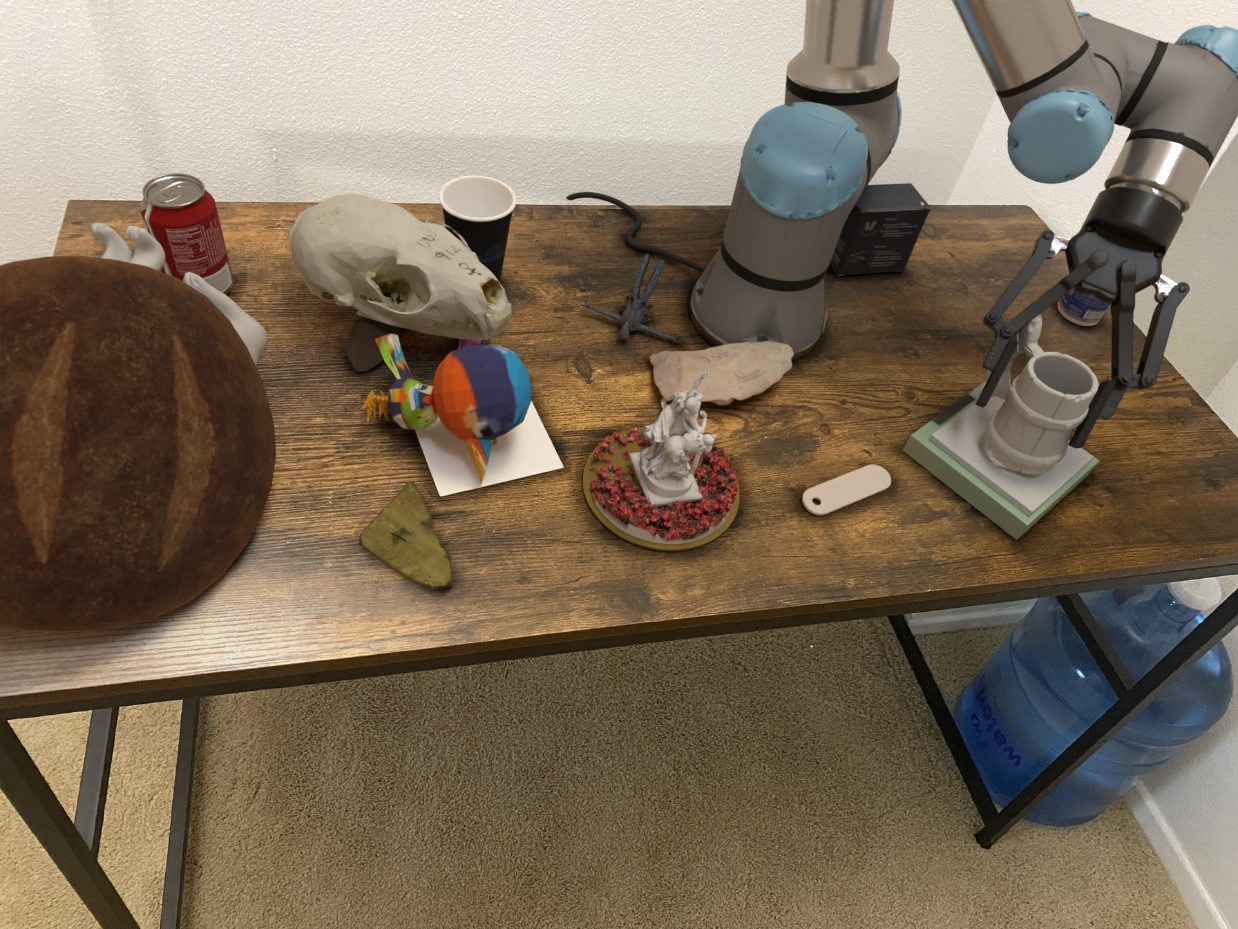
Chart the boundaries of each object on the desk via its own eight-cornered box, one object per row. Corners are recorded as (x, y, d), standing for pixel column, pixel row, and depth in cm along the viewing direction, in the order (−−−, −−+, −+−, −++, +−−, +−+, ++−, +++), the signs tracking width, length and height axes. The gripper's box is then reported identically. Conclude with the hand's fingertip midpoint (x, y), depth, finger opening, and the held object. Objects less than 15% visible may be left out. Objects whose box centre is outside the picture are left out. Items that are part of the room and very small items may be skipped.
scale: (901, 449, 95) (912, 428, 93) (976, 395, 102) (988, 374, 100) (1016, 540, 89) (1031, 520, 87) (1087, 475, 96) (1103, 455, 94)
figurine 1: (432, 277, 96) (394, 361, 89) (429, 306, 100) (393, 389, 93) (371, 259, 96) (329, 342, 89) (371, 289, 100) (330, 371, 93)
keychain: (794, 496, 89) (812, 521, 88) (796, 493, 88) (814, 518, 87) (876, 464, 93) (894, 487, 92) (879, 460, 93) (897, 483, 91)
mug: (1008, 483, 88) (1063, 391, 79) (945, 398, 95) (989, 305, 86) (1075, 470, 90) (1136, 379, 81) (1008, 388, 97) (1058, 296, 88)
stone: (459, 590, 78) (460, 580, 76) (382, 613, 75) (381, 602, 74) (418, 486, 84) (418, 475, 83) (346, 503, 82) (344, 492, 81)
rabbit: (120, 193, 68) (-95, 491, 60) (306, 351, 84) (156, 601, 76) (40, 189, 74) (-165, 459, 66) (228, 337, 90) (82, 568, 82)
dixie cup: (496, 312, 101) (498, 227, 92) (428, 291, 101) (425, 205, 93) (522, 271, 106) (527, 187, 97) (458, 251, 107) (457, 167, 98)
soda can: (247, 291, 98) (225, 193, 89) (188, 318, 94) (159, 218, 85) (211, 260, 100) (187, 161, 91) (152, 284, 97) (120, 184, 88)
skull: (454, 397, 85) (454, 307, 78) (260, 292, 92) (244, 202, 85) (542, 326, 94) (549, 240, 87) (360, 236, 101) (353, 150, 94)
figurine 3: (707, 420, 94) (738, 311, 84) (762, 536, 85) (806, 432, 75) (565, 438, 90) (579, 327, 79) (607, 563, 81) (630, 456, 70)
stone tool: (658, 421, 93) (803, 411, 95) (659, 382, 90) (809, 372, 92) (646, 372, 100) (781, 363, 102) (647, 334, 97) (786, 326, 99)
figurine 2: (707, 278, 102) (707, 272, 97) (675, 360, 103) (673, 358, 98) (607, 239, 103) (601, 232, 98) (576, 321, 104) (569, 317, 99)
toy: (351, 489, 82) (511, 488, 78) (346, 330, 81) (506, 322, 77) (404, 481, 91) (548, 480, 88) (399, 339, 91) (545, 332, 87)
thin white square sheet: (440, 496, 83) (439, 486, 82) (405, 405, 90) (404, 394, 89) (564, 467, 88) (565, 457, 87) (522, 382, 94) (523, 371, 93)
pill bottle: (1063, 293, 117) (1103, 228, 110) (1104, 313, 115) (1147, 248, 108) (1050, 313, 114) (1090, 248, 106) (1092, 333, 112) (1135, 269, 105)
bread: (272, 293, 80) (326, 287, 74) (253, 607, 81) (304, 625, 75) (-152, 218, 59) (-124, 201, 53) (-174, 644, 59) (-149, 674, 54)
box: (885, 245, 119) (912, 181, 112) (904, 273, 115) (933, 208, 108) (819, 249, 116) (842, 183, 109) (837, 277, 113) (862, 211, 106)
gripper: (1244, 256, 86) (1128, 475, 88) (1023, 173, 91) (918, 382, 93) (1280, 235, 79) (1152, 474, 81) (1037, 146, 84) (923, 374, 86)
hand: (1027, 425), depth 87 cm, fingers closed on mug, 8 cm apart
